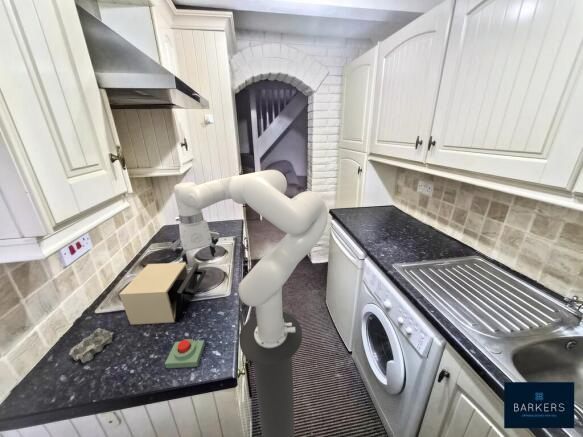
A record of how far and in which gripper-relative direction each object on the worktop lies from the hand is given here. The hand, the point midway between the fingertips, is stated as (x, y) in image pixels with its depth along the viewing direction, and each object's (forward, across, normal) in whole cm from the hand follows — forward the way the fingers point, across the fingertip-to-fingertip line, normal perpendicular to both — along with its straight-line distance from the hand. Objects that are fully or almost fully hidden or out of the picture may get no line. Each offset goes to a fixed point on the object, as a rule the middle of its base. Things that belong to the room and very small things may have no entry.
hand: (200, 258), depth 88 cm
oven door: (+25, -6, +8) cm, 27 cm away
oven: (+25, -16, +13) cm, 32 cm away
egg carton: (+25, -39, +3) cm, 47 cm away
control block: (+25, -12, -18) cm, 33 cm away
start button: (+21, -12, -18) cm, 30 cm away
